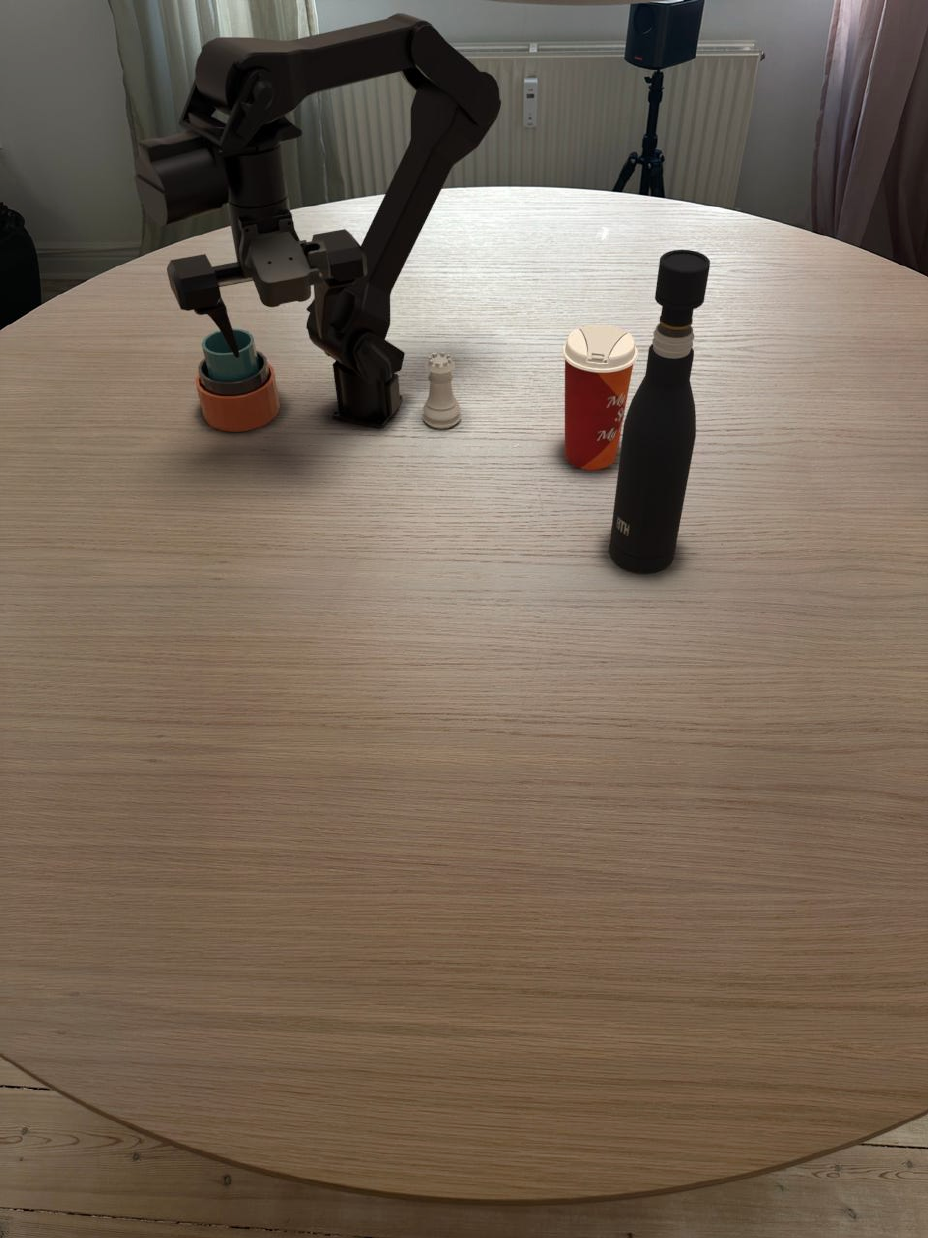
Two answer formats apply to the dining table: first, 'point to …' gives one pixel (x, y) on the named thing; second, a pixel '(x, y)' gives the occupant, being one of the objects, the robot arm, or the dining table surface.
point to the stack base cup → (241, 407)
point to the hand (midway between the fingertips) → (280, 346)
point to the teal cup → (230, 357)
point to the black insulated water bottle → (660, 425)
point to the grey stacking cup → (236, 386)
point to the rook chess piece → (441, 393)
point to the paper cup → (596, 393)
